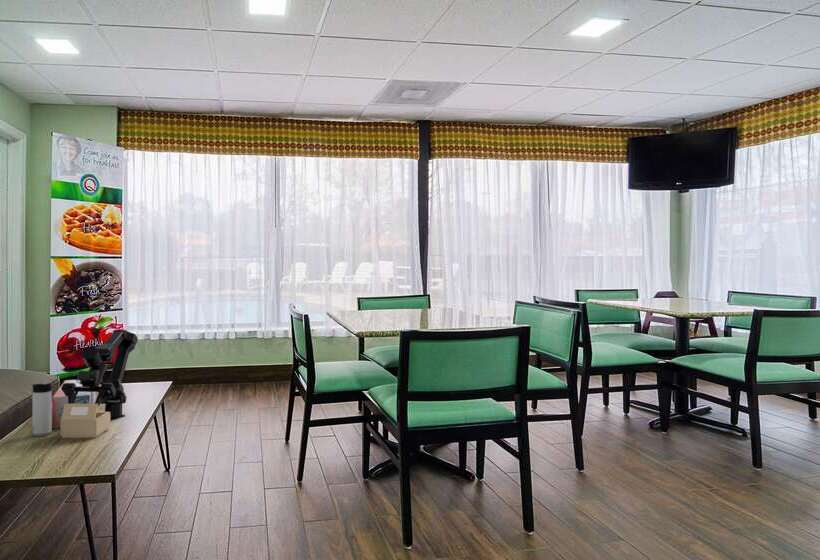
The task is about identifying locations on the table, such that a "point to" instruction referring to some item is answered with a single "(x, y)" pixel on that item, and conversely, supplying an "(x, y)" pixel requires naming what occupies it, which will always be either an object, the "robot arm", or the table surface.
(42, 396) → the travel mug
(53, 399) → the soda box
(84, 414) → the carton flap
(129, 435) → the table surface
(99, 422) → the carton
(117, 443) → the table surface
